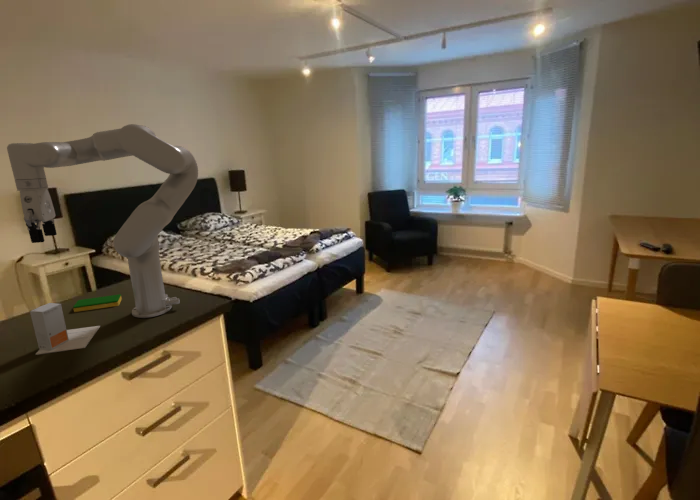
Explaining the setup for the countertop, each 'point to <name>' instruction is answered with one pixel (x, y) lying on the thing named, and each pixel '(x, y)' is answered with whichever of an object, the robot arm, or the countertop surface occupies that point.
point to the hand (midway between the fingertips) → (44, 238)
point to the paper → (74, 340)
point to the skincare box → (49, 326)
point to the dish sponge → (97, 303)
